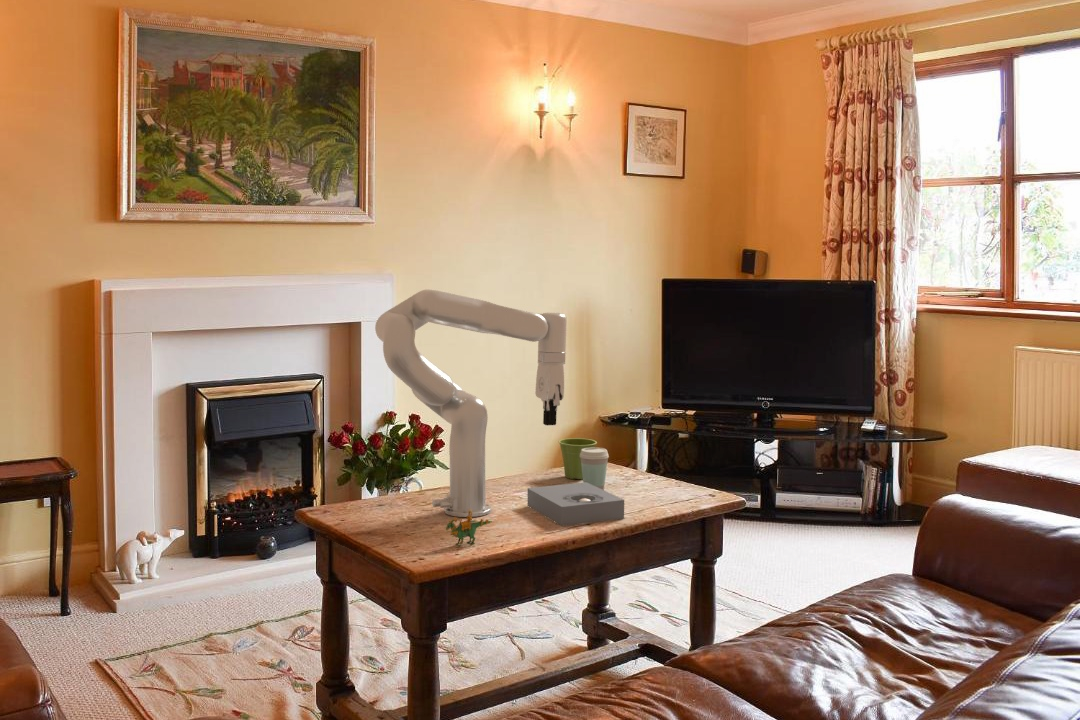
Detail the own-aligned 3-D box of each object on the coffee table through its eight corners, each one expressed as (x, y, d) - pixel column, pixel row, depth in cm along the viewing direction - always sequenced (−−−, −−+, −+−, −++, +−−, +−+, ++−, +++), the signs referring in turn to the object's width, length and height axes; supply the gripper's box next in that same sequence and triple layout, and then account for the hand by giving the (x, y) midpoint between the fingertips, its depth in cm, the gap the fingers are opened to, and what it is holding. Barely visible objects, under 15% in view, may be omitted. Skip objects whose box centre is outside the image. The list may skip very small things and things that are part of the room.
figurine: (443, 545, 240) (443, 512, 239) (489, 538, 245) (489, 506, 244) (448, 549, 237) (448, 515, 236) (494, 542, 242) (494, 509, 242)
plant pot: (585, 483, 303) (585, 446, 302) (551, 478, 309) (551, 442, 308) (603, 475, 314) (603, 440, 312) (569, 471, 319) (569, 436, 318)
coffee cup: (609, 487, 299) (609, 447, 297) (608, 494, 290) (608, 453, 289) (580, 486, 299) (580, 446, 298) (578, 493, 291) (578, 452, 290)
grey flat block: (561, 526, 256) (561, 506, 256) (527, 506, 276) (527, 488, 276) (624, 518, 264) (624, 499, 263) (586, 499, 284) (586, 482, 283)
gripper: (528, 355, 280) (527, 420, 282) (549, 361, 267) (547, 429, 268) (553, 355, 283) (552, 420, 285) (575, 360, 269) (573, 428, 271)
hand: (549, 424), depth 277 cm, fingers closed
